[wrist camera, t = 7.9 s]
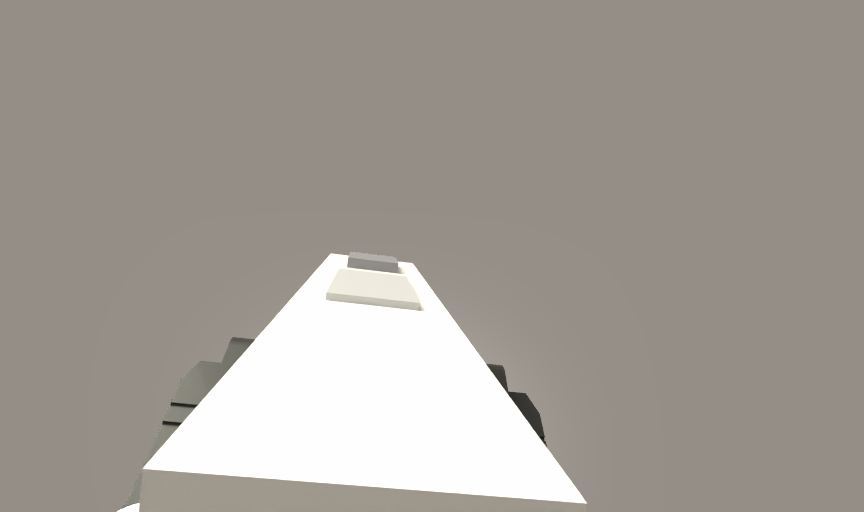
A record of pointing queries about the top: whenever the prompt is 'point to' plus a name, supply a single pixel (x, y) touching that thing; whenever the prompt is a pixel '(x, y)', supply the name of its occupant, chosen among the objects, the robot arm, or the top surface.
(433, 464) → the white long block
